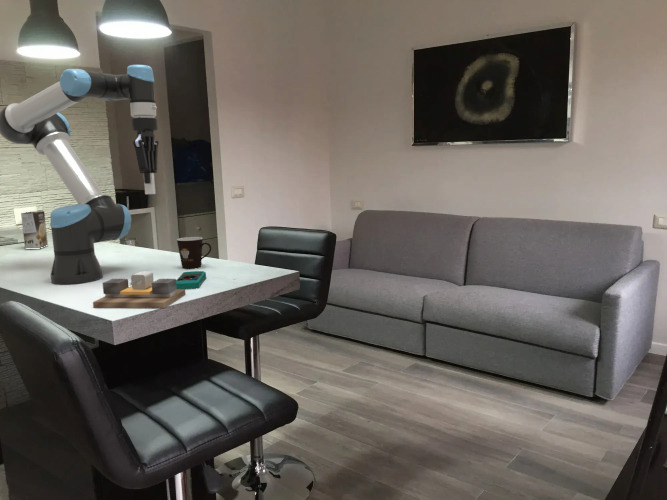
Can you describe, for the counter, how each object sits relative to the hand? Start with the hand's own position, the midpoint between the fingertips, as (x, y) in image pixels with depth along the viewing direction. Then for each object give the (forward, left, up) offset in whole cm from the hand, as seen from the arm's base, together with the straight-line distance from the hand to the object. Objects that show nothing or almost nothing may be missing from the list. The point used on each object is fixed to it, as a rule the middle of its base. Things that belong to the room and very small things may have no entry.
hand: (150, 193), depth 175 cm
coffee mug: (+8, +12, -27) cm, 30 cm away
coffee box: (-81, +56, -27) cm, 102 cm away
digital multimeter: (+16, -11, -27) cm, 33 cm away
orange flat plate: (+10, -32, -24) cm, 41 cm away
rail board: (+10, -32, -26) cm, 42 cm away
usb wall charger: (+10, -32, -23) cm, 41 cm away
